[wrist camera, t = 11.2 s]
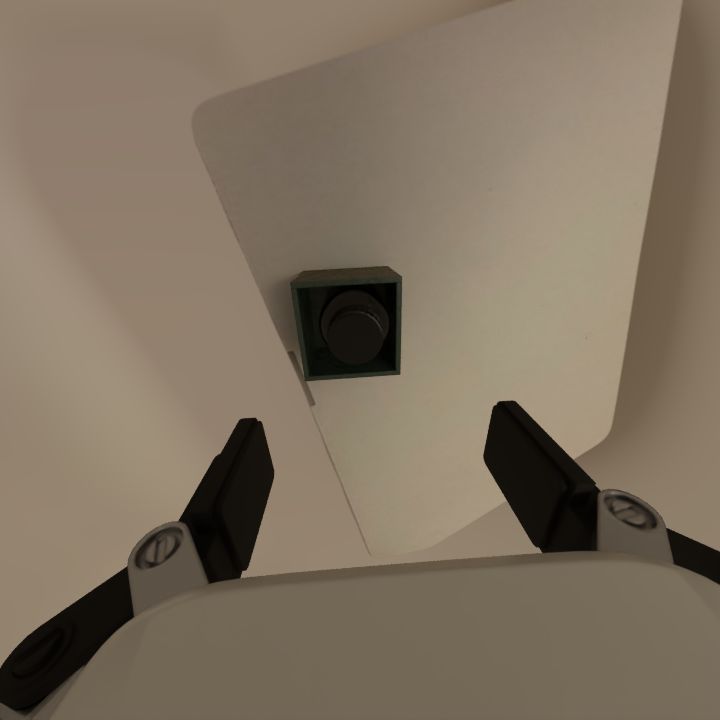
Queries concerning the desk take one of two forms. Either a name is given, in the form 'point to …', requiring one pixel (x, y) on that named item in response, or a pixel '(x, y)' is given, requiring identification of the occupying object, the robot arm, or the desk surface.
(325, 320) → the supplement bottle
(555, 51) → the desk surface
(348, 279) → the open box
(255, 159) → the desk surface
